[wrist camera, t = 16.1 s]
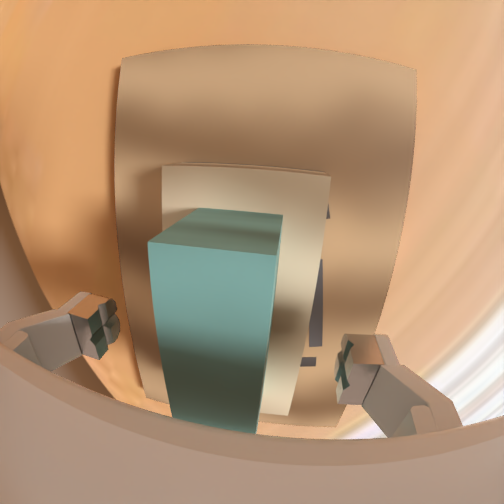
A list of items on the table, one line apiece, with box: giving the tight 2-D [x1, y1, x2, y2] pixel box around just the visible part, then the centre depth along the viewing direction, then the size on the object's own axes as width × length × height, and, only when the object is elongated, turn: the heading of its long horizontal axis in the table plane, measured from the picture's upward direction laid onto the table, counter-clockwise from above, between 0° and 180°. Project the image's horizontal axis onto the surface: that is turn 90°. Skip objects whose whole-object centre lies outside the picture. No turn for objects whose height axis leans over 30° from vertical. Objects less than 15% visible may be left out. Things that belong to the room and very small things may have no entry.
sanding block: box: [148, 162, 331, 434], centre depth 11 cm, size 12×6×6 cm, turn 177°
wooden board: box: [114, 44, 417, 427], centre depth 14 cm, size 22×14×1 cm, turn 176°
